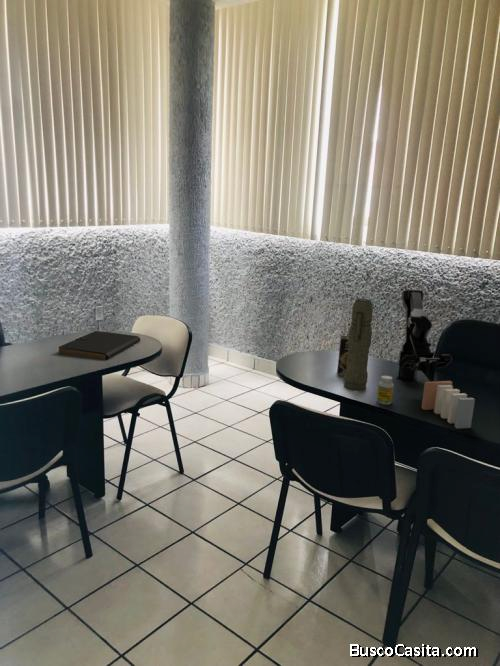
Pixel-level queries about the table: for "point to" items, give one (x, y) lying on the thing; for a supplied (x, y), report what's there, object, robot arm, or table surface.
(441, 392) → the domino
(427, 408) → the domino
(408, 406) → the table surface
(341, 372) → the coffee box
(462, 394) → the domino
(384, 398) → the supplement bottle
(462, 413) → the domino
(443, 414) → the domino
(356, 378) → the thermos
